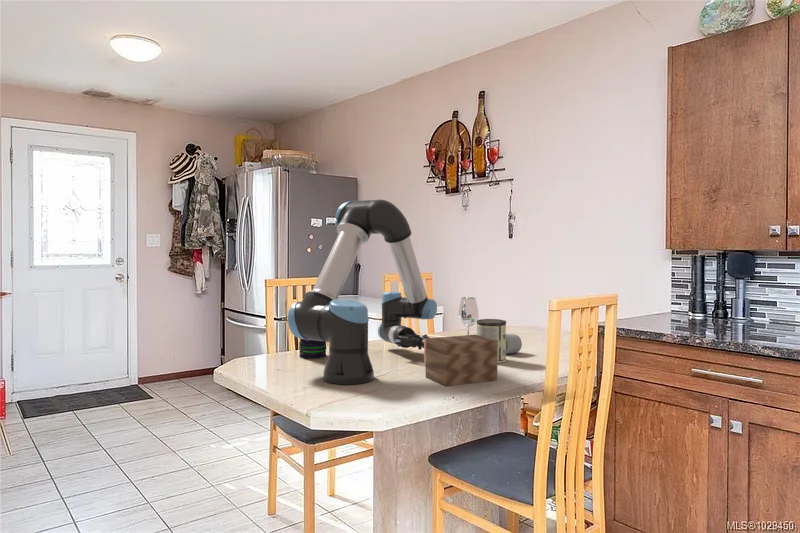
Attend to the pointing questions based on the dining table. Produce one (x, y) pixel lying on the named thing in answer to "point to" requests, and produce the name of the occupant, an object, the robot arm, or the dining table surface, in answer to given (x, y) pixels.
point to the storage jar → (312, 349)
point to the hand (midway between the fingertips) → (433, 346)
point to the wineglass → (468, 312)
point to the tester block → (461, 359)
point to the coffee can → (494, 334)
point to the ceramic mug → (513, 343)
